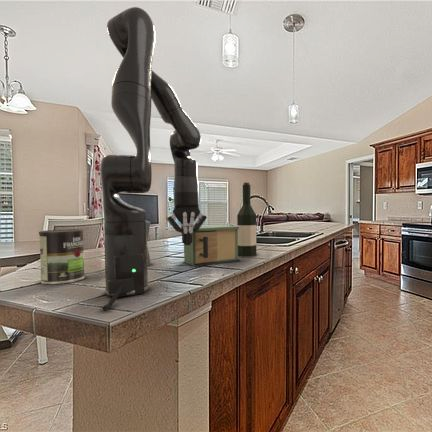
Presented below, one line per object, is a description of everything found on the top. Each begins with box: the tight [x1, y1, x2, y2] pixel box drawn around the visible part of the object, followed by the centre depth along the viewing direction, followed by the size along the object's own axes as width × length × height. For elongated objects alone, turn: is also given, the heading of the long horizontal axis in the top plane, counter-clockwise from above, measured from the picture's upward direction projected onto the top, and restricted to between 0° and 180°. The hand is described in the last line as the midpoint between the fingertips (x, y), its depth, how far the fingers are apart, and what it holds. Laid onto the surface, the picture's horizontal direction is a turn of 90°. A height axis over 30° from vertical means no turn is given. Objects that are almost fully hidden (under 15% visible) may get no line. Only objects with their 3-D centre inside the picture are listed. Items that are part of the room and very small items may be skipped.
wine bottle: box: [236, 182, 257, 257], centre depth 134 cm, size 8×8×30 cm
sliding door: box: [195, 231, 217, 263], centre depth 110 cm, size 6×8×11 cm
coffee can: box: [38, 228, 86, 285], centre depth 91 cm, size 10×10×14 cm
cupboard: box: [183, 224, 240, 267], centre depth 118 cm, size 11×17×13 cm, turn 125°
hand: (187, 244), depth 103 cm, fingers closed
